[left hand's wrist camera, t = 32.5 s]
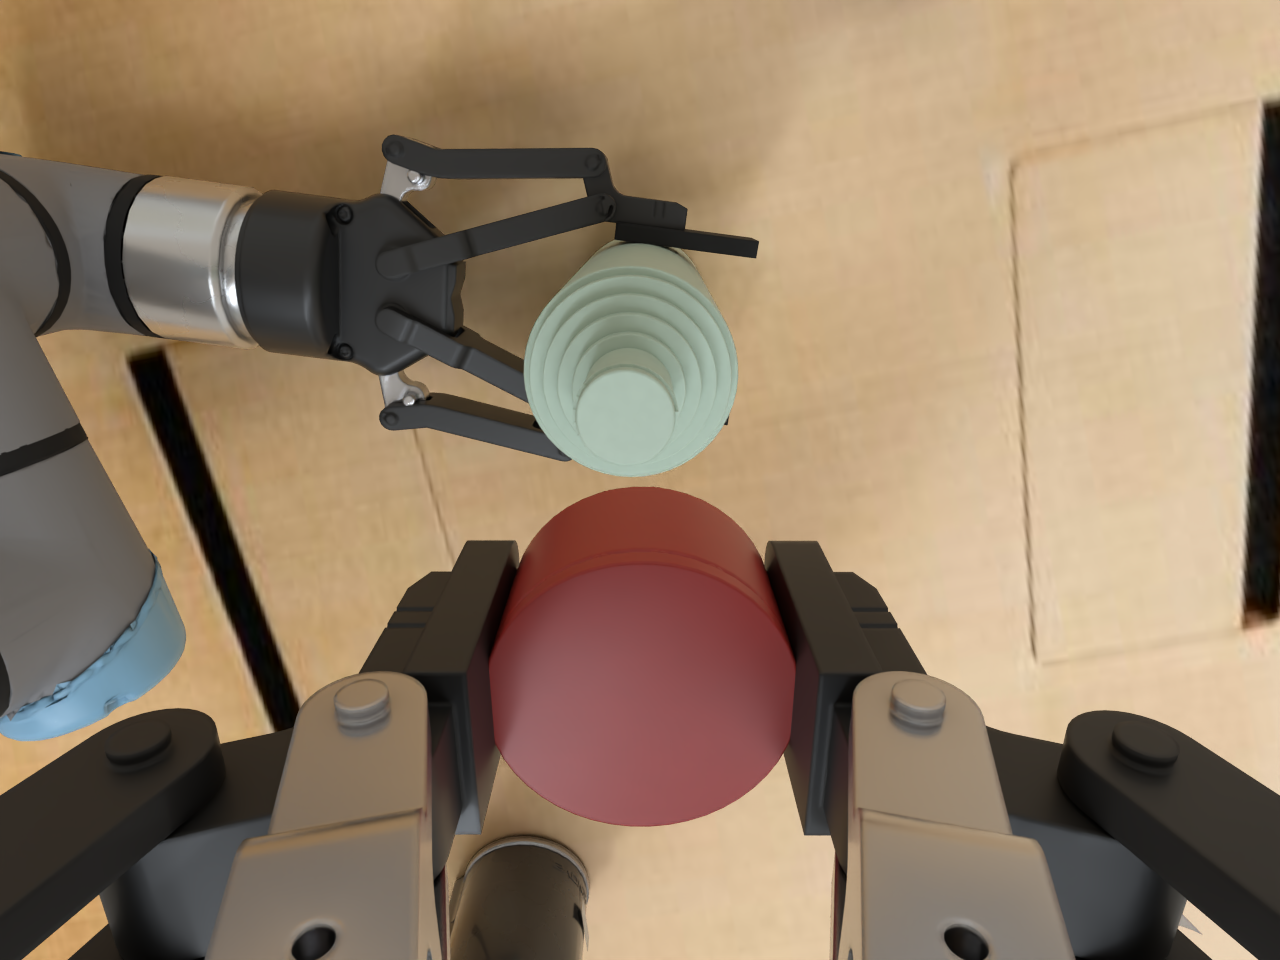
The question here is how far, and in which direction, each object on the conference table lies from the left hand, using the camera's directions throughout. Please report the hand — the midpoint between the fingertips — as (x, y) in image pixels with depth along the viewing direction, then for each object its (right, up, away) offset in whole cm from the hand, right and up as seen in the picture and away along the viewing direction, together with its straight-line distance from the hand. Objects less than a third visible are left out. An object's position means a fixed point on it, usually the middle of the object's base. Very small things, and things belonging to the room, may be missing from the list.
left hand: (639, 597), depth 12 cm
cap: (0, -1, -2) cm, 2 cm away
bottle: (0, +12, +32) cm, 34 cm away
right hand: (+5, +9, +26) cm, 28 cm away
